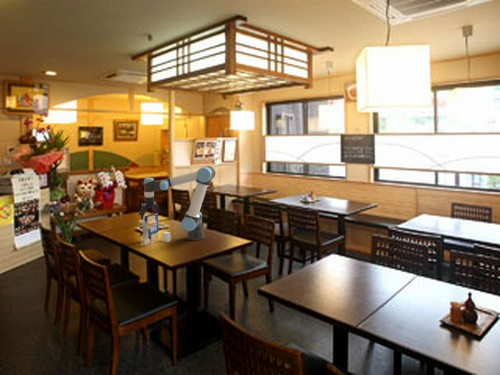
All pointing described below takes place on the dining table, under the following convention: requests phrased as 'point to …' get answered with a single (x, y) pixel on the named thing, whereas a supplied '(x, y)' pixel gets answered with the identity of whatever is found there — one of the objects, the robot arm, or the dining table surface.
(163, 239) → the white plastic block
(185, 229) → the robot arm
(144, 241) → the maple cube
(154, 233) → the beverage box
